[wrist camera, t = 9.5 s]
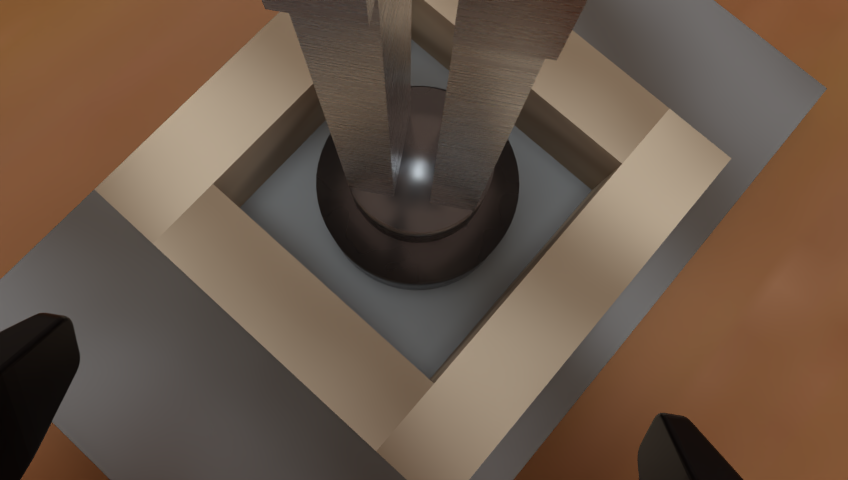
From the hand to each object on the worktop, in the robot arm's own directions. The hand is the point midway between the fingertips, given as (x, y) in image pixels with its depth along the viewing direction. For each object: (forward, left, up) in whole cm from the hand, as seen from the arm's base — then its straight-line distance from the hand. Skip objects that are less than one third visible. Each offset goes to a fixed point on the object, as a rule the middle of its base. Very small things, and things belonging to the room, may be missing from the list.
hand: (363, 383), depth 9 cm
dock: (+4, +2, -8) cm, 10 cm away
